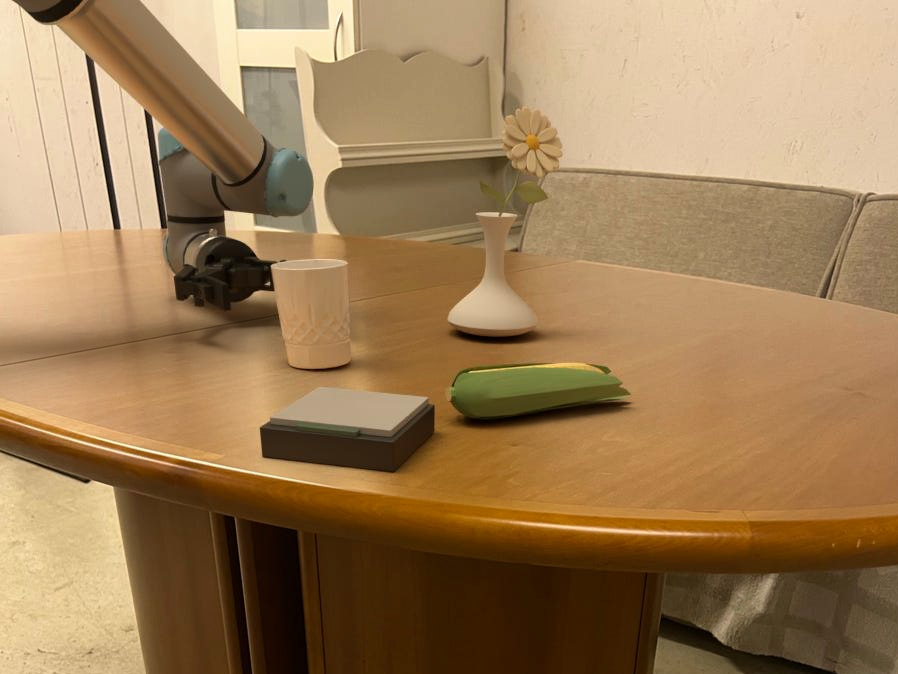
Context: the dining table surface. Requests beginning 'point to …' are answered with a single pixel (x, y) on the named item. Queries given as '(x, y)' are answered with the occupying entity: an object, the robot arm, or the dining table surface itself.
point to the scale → (349, 428)
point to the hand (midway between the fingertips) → (285, 293)
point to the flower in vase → (493, 299)
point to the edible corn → (530, 388)
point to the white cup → (314, 311)
